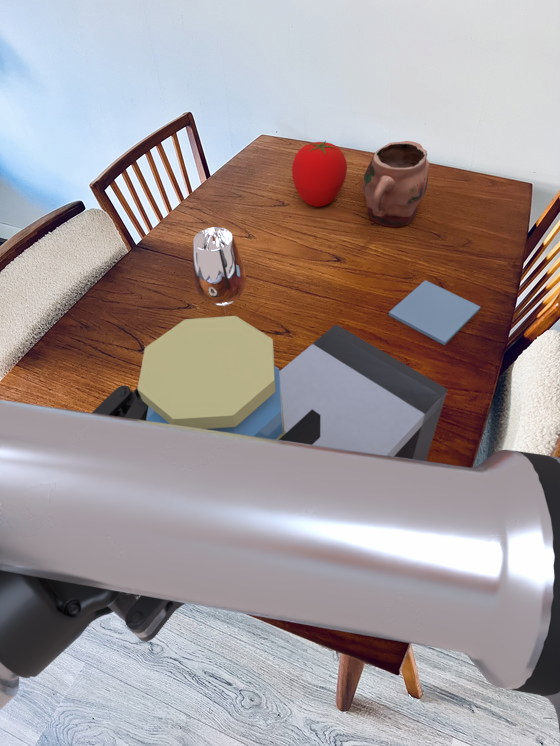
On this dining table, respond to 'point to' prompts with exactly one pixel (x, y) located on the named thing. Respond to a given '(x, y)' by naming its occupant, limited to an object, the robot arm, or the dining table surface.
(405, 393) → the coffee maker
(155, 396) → the jar
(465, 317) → the plate
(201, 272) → the wineglass
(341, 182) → the tomato
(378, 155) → the pink ceramic mug
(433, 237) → the dining table surface
